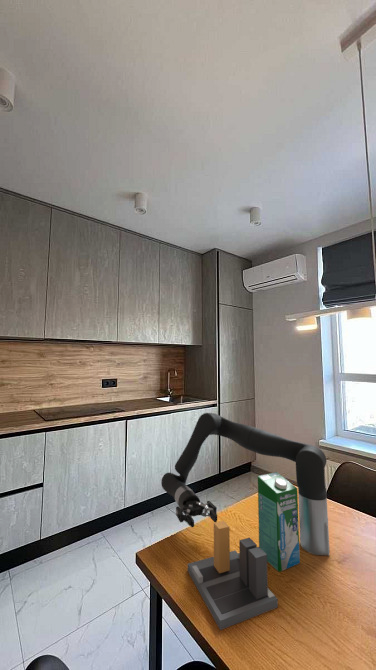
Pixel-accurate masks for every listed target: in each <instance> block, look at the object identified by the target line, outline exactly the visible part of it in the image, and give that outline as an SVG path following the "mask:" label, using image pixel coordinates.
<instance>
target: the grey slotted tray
mask: <svg viewBox="0 0 376 670" xmlns="http://www.w3.org/2000/svg"><path fill="white" fill-rule="evenodd" d="M238 543H239V545H238V546H239V550H238V551H239V552H238V551H236V550H232V551H231V550H230V570H229V571H226V572H223V573H219V572H218V571H217V569H216V568H215V567H214V556H210V557H207V558H203V559H200V560H196V561H193V562H189V563H187V573H188V572H189V573H188V574H189V576H190V578H191V580H192V581H193V584H194V585H195V587H196V589H197V591H198V592H199V594H200V596H201V599H202V600H203V602H204V604H205V605H206V607H207V609H208V611H209V612H210V614H211V616H212V618H213V620H214V621H215V624H216V625H217V627H218V629H219V631H222V630H224V629H227V628H229V627H231V626H233V625H234V626H235V625H238V624H239V623H242V622H244V621H247V620H249V619H252V618H254V617H257V616H259V615H262V614H265V613H267V612H270V611H272V610H274V609H277V608H278V607H279V603H278V597H277V596H276V595H275V594H274V593H273V592H272V591H271V590H270V588H269V587H268V584H269V583H268V562H267V554H266V553H265V552H264V551H263V550H262V549H261V548H260V547H259V546H258V544H257V543H256V542H254V540H253V539H252V537H251V538H250V537H247V538H246V537H245V538H244V539H243V538H242V539H239V542H238Z"/></svg>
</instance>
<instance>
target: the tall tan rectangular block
mask: <svg viewBox="0 0 376 670" xmlns="http://www.w3.org/2000/svg"><path fill="white" fill-rule="evenodd" d="M230 536H231V535H230V525H229V524H227V522H226V521H225V520H220V521H217V522H213V557H214V567H215V568H216V569H217V571H218V572H219V573H223V572H226V571H229V570H230V552H231V550H230V549H231V547H230V544H231V543H230V540H231V539H230Z"/></svg>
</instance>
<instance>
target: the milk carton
mask: <svg viewBox="0 0 376 670" xmlns="http://www.w3.org/2000/svg"><path fill="white" fill-rule="evenodd" d="M257 503H258V505H257V506H258V515H257V516H258V547H260V548H261V549H262V550H263V551H264V552H265V553H266V554H267V564H269V565H270V566H272V567H273V568H274V570H276V571H278V573H280V572H283V571H285V570H287V569H289V568H292V567H294V566H296V565H299V564H300V563H301V561H300V559H301V556H300V524H299V495H298V487H296V486H295V485H294V484H293V483H292V482H290V481H289V480H288V479H287V478H286V477H284V476H283V475H281V474H280V473H279V472H278V471H276V472H272V473H271V472H270V473H266V474H261V475H258V476H257Z"/></svg>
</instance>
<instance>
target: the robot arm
mask: <svg viewBox="0 0 376 670" xmlns="http://www.w3.org/2000/svg"><path fill="white" fill-rule="evenodd" d="M212 435H213V436H219V437H223V438H226V439H229V440H231V441H233V442H234V443H236V444H237V445H239V446H240V447H242V448H244V449H246V450H249V451H250V452H253V453H256V454H259V455H263V456H269V457H275V458H276V457H278V458H283V459H286V460H290V461H292V462H294V463H295V475H296V486H297V495H298V523H299V546H301V548H302V549H303V550H304V551H306V552H308V553H309V554H311V555H315V556H329V557H330V534H329V533H330V531H329V516H328V515H329V513H328V496H327V495H328V493H327V488H326V479H325V477H326V476H325V467H326V466H327V456H326V454H325V453H324V451H323V450H322V449H320V448H319V447H318V446H316V445H312V444H309V443H303V442H299V441H295V440H291V439H289V438H286V437H282V436H281V435H277V434H276V433H275V434H274V433H272V432H270V431H266V430H264V429H261V428H259V427H255V426H251V425H249V424H244V423H239V422H234V421H232V420H230V419H228V418H226V417H224V416H221V415H219V414H217V413H212V412H205V413H202V414H201V415H200V416H199V417H198V419H197V422H196V424H195V427H194V428H193V431H192V434H191V435H190V438H189V440H188V442H187V444H186V446H185V447H184V450H183V452H182V453H181V455H180V456H179V458H178V459H177V461H176V463H175V465H174V470H175V471H176V472H177V473H178V475H177V474H175V473H173V472H166V473H164V474H163V476H162V478H161V487H162V489H163V490H164V491H165V492H166V493H167V494H168V495H170V496H172V497H173V499H174V501H175V502H176V504H177V506H175V515H176V518H177V519H178V521H179V523H184V522H185V523H187V525H188V526H189V527H191V528H194V527H195V520H194V518H193V517H197V516H202V517H204V518H205V517H209V518H210V519H211V520H212V522H213V523H215V522H218V512H217V511H218V510H217V509H218V507H217V506H216V505H215V504H214V503H212V501H210V500H206V503H203V502H201V500H200V498H199V497H198V495H197V494H196V493H195V492H194V491H193V489H191V488H190V487H189V486H188V485H187V484H186V483H187V480H188V477H189V475H190V472H191V470H192V469H193V468H194V466H195V463H196V462H197V460H198V457H199V454H200V450H201V448H202V446H203V444H204V443H205V441H206V440H207V439H208V437H209V436H212Z"/></svg>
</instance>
